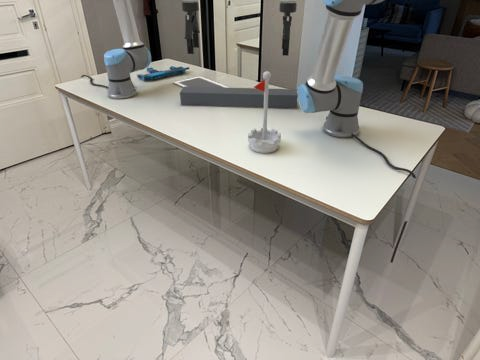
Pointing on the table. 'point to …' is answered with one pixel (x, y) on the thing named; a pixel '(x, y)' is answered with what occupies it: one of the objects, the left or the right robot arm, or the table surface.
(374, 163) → the table surface
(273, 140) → the flag stand
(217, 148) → the table surface
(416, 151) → the table surface
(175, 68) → the submachine gun
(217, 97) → the wide beam
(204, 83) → the tablet
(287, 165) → the table surface
